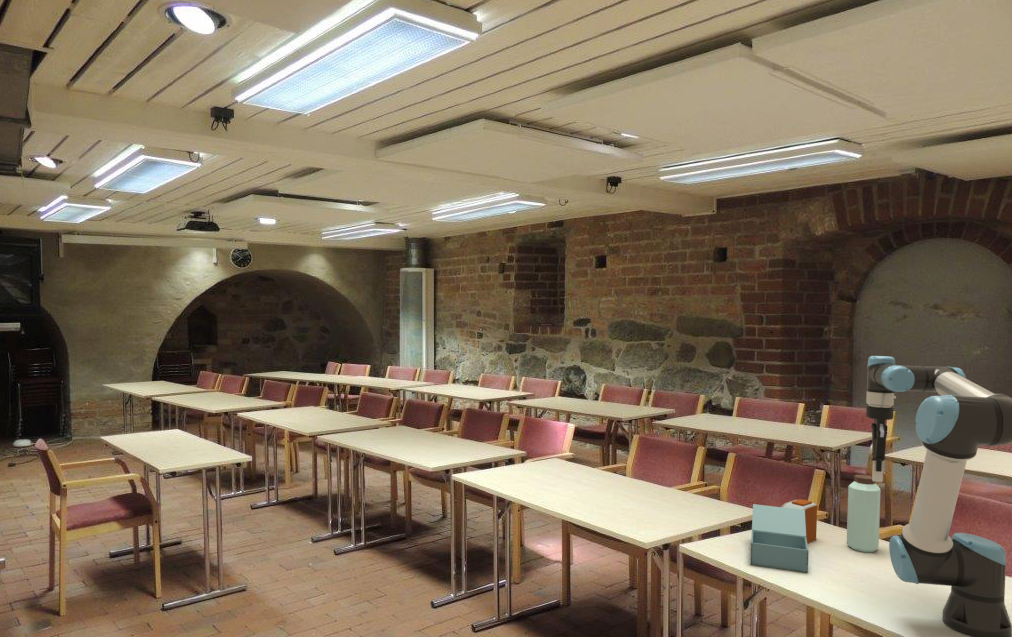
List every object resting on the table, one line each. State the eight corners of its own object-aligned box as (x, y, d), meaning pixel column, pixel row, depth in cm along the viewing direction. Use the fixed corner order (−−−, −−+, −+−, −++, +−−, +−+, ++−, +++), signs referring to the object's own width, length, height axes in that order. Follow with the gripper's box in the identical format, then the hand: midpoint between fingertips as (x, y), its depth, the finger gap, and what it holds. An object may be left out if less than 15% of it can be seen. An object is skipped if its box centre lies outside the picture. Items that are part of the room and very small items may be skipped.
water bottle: (839, 545, 246) (842, 474, 245) (859, 542, 250) (861, 472, 249) (865, 555, 237) (867, 481, 236) (885, 551, 241) (887, 478, 240)
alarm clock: (795, 533, 258) (796, 496, 258) (818, 539, 252) (819, 502, 252) (774, 541, 249) (775, 503, 249) (797, 547, 242) (798, 508, 242)
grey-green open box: (807, 572, 219) (808, 550, 219) (750, 564, 225) (750, 542, 225) (805, 558, 232) (806, 537, 232) (751, 550, 238) (751, 530, 238)
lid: (804, 510, 244) (804, 511, 244) (753, 504, 250) (753, 505, 250) (806, 536, 232) (806, 537, 232) (751, 529, 238) (751, 531, 238)
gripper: (897, 409, 210) (894, 487, 211) (890, 404, 223) (887, 477, 223) (869, 407, 213) (866, 484, 213) (863, 402, 225) (861, 475, 226)
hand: (877, 481), depth 218 cm, fingers closed
